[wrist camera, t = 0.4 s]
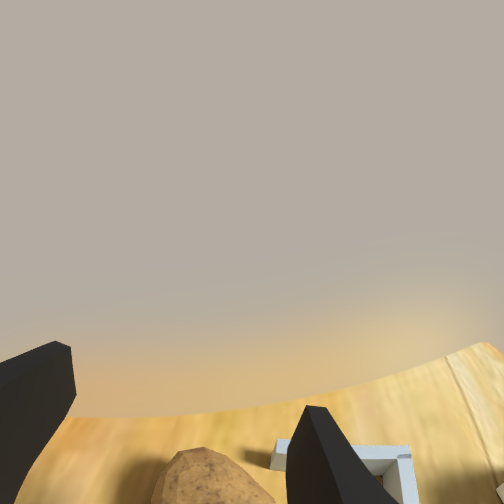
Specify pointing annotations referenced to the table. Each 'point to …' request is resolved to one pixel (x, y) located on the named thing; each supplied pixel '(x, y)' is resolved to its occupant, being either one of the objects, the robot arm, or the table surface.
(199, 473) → the potato
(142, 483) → the table surface
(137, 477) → the table surface
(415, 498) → the corner walls
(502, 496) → the milk carton
